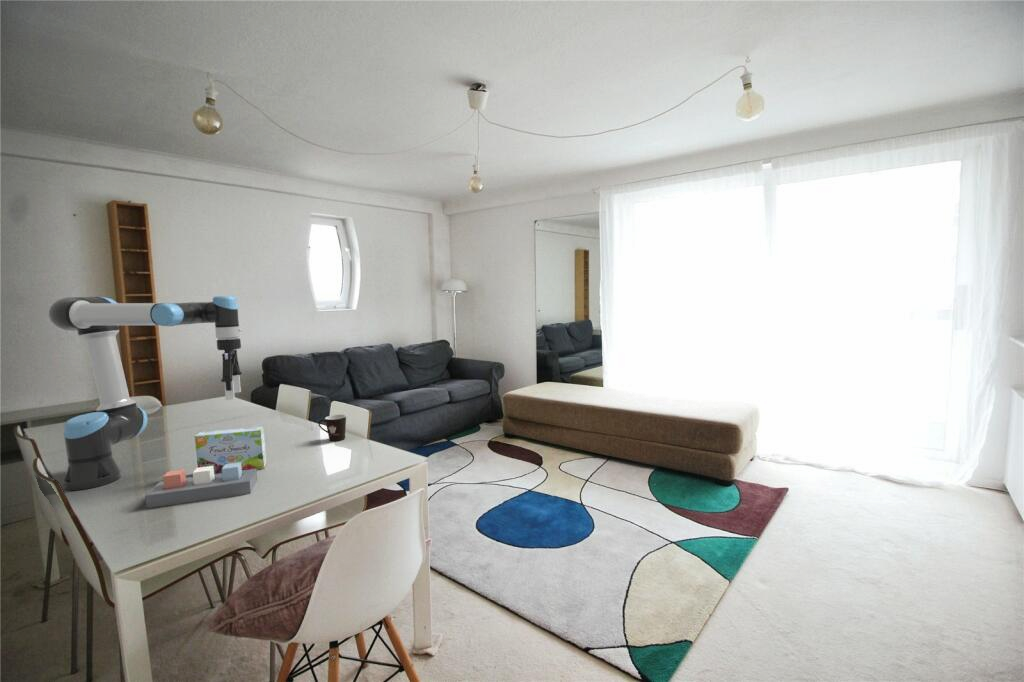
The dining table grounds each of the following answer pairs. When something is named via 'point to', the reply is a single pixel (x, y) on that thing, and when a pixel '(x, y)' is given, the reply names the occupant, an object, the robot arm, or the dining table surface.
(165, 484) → the brick key
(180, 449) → the dining table surface
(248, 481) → the console
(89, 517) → the dining table surface
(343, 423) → the coffee mug
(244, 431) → the snack box
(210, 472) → the ivory key
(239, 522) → the dining table surface
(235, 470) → the slate key
